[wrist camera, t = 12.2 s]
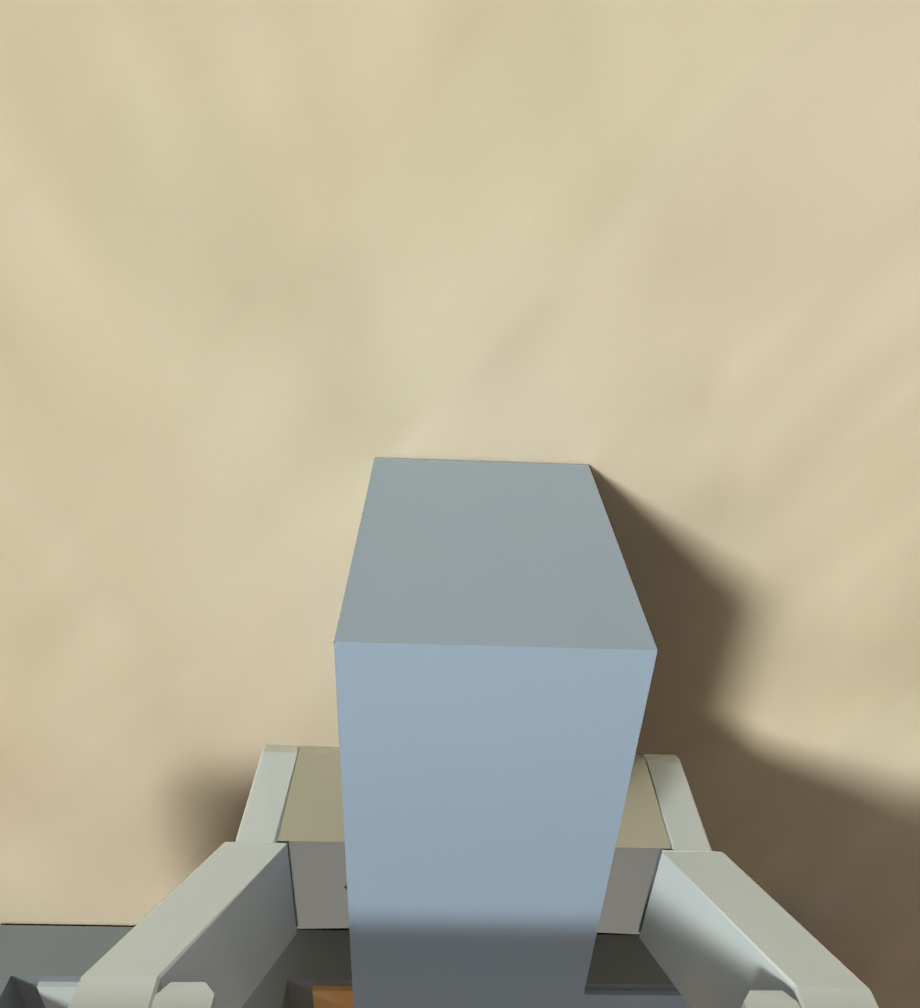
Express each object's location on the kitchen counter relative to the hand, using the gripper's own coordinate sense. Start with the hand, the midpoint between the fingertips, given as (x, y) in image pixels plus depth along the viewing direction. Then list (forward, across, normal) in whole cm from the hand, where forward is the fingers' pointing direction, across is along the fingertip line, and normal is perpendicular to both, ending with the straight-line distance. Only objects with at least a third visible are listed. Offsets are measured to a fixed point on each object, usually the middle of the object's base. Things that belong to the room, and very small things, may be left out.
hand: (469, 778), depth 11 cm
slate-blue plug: (+2, 0, 0) cm, 2 cm away
